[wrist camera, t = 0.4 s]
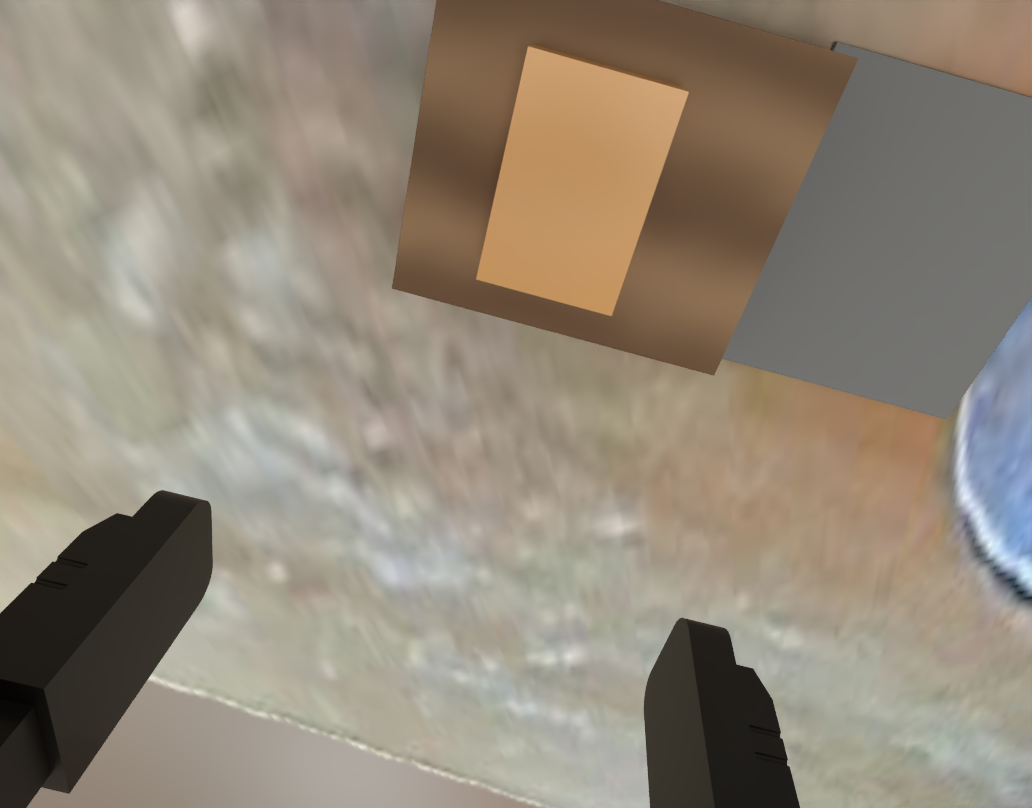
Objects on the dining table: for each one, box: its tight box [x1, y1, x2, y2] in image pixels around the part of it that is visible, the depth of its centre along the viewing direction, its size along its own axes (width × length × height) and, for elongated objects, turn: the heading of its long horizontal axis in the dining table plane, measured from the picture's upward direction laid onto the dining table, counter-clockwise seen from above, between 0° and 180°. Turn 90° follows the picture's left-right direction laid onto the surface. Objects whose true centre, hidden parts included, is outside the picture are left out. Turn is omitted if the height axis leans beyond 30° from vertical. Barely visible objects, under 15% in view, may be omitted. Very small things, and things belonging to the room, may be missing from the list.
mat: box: [722, 42, 1032, 419], centre depth 32 cm, size 15×14×1 cm
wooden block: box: [392, 0, 859, 375], centre depth 30 cm, size 14×16×4 cm
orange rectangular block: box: [476, 44, 689, 316], centre depth 27 cm, size 9×6×2 cm, turn 166°
